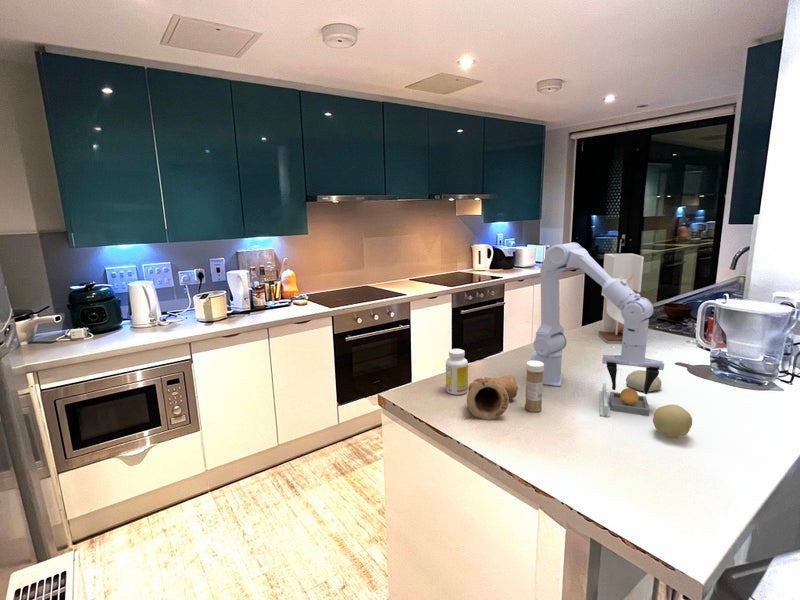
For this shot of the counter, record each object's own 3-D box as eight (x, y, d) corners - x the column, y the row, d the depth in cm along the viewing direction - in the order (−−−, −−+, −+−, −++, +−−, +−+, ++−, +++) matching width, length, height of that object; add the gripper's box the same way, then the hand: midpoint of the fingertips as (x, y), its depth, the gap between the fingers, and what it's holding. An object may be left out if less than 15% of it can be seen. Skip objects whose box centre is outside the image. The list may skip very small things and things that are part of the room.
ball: (619, 406, 116) (621, 391, 115) (619, 399, 120) (620, 384, 119) (638, 409, 114) (640, 393, 113) (637, 402, 118) (638, 387, 117)
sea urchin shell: (669, 388, 124) (650, 369, 124) (647, 404, 126) (628, 386, 126) (657, 376, 133) (639, 358, 132) (636, 391, 135) (618, 374, 135)
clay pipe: (454, 417, 121) (479, 425, 107) (448, 380, 122) (472, 383, 108) (511, 404, 127) (541, 410, 113) (505, 369, 128) (534, 370, 114)
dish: (610, 410, 115) (611, 404, 115) (609, 397, 123) (610, 391, 123) (649, 416, 112) (649, 410, 111) (645, 401, 120) (645, 396, 119)
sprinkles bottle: (533, 403, 120) (535, 358, 117) (545, 410, 116) (547, 363, 113) (521, 407, 118) (522, 361, 116) (532, 414, 114) (534, 366, 112)
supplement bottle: (470, 388, 132) (470, 349, 129) (464, 397, 126) (464, 355, 123) (449, 385, 134) (449, 346, 132) (442, 393, 129) (442, 353, 126)
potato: (690, 448, 97) (695, 415, 95) (650, 439, 101) (654, 408, 99) (689, 433, 103) (693, 402, 101) (652, 425, 107) (655, 395, 105)
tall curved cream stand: (598, 335, 182) (604, 253, 175) (624, 336, 180) (632, 253, 173) (607, 343, 171) (614, 256, 164) (635, 344, 169) (643, 256, 162)
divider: (600, 416, 112) (601, 405, 112) (599, 392, 127) (600, 382, 126) (610, 417, 111) (611, 406, 111) (608, 393, 126) (609, 384, 125)
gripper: (604, 344, 113) (600, 392, 116) (668, 351, 107) (662, 401, 110) (603, 337, 119) (600, 382, 122) (663, 343, 114) (658, 390, 116)
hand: (629, 390), depth 117 cm, fingers open, 7 cm apart
